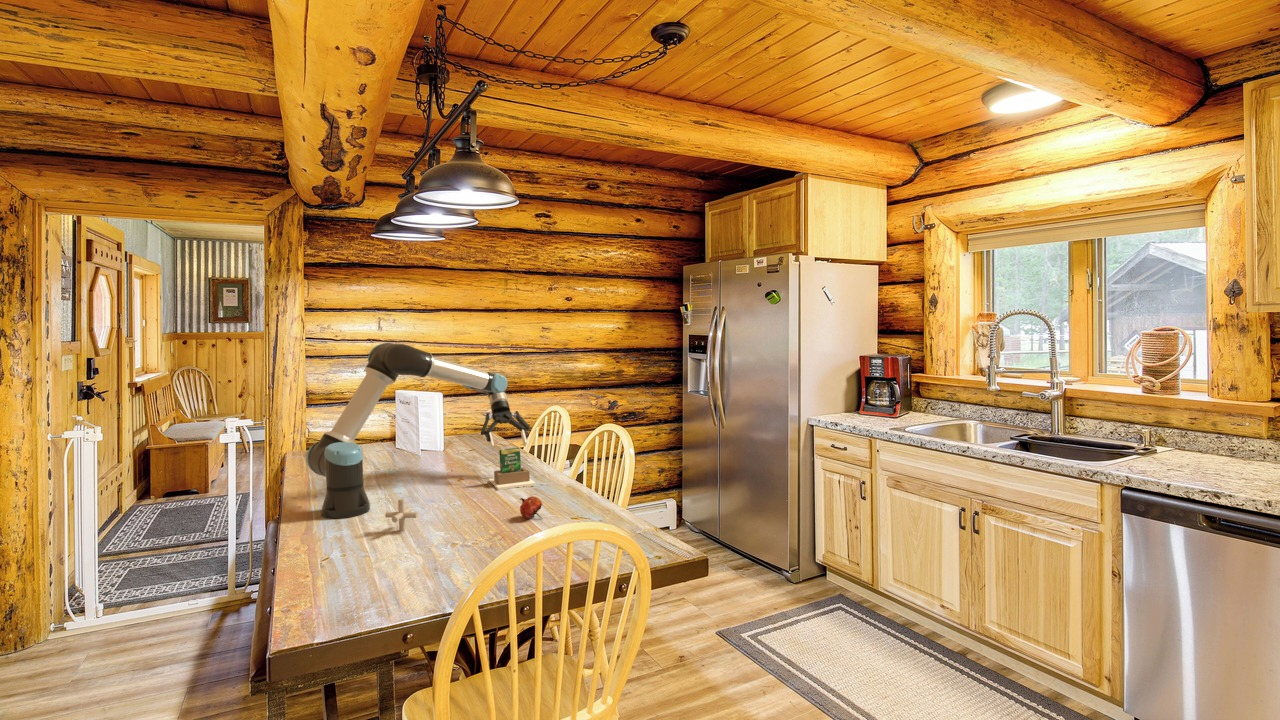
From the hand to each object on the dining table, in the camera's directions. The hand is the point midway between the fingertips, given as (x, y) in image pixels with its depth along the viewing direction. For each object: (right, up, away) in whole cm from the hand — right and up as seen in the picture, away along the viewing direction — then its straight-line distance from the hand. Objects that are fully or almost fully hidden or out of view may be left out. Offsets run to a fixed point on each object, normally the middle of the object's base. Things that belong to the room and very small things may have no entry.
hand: (509, 445), depth 264 cm
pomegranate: (+17, -18, -49) cm, 55 cm away
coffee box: (+1, -14, -4) cm, 15 cm away
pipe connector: (-21, -19, -60) cm, 67 cm away
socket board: (+2, -14, -4) cm, 15 cm away
